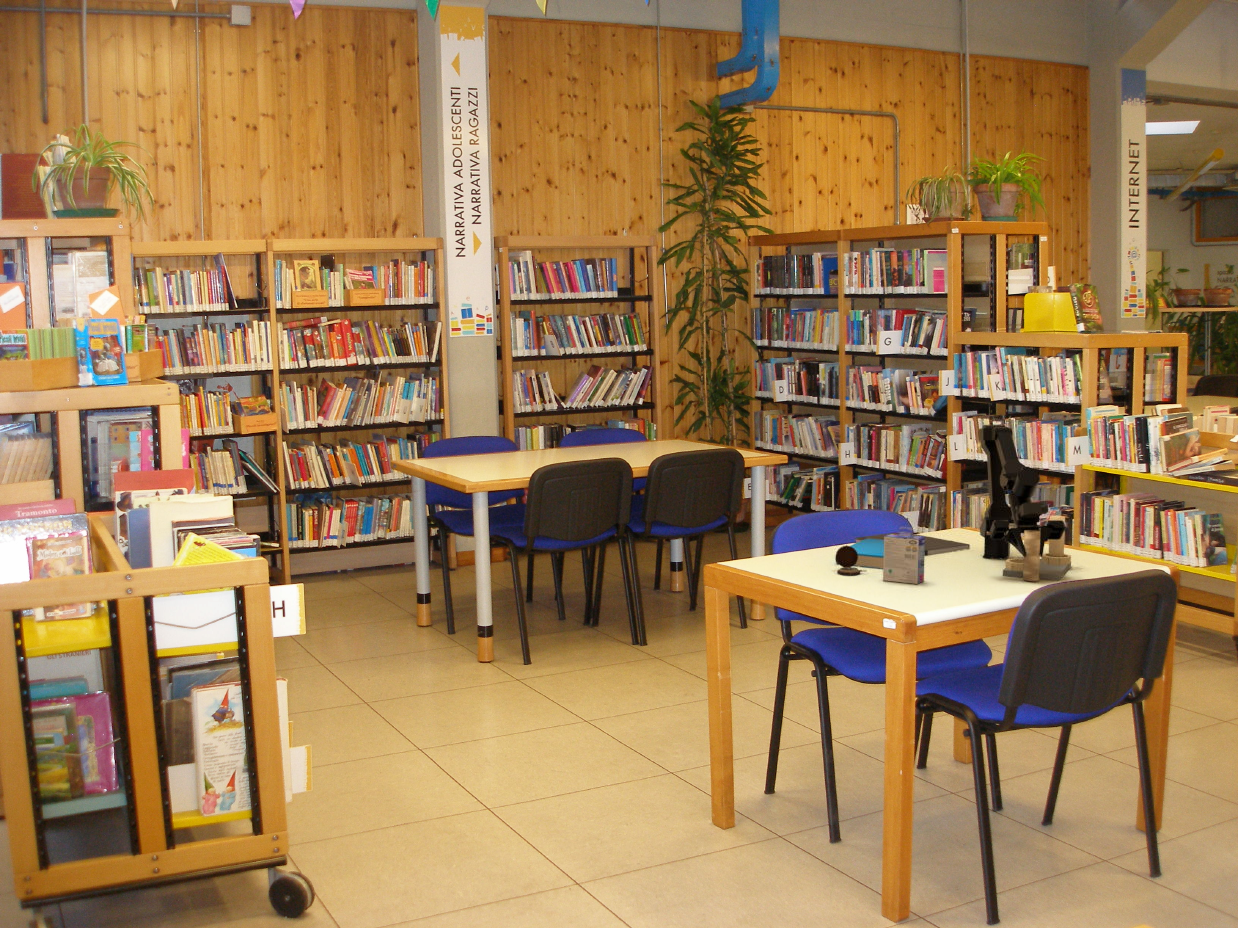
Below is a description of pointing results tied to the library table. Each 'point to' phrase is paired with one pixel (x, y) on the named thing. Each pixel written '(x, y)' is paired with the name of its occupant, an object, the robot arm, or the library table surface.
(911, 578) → the ink cartridge box
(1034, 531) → the pin
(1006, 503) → the robot arm
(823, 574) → the library table surface
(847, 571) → the compass
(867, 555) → the book
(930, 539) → the notebook
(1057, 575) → the board
